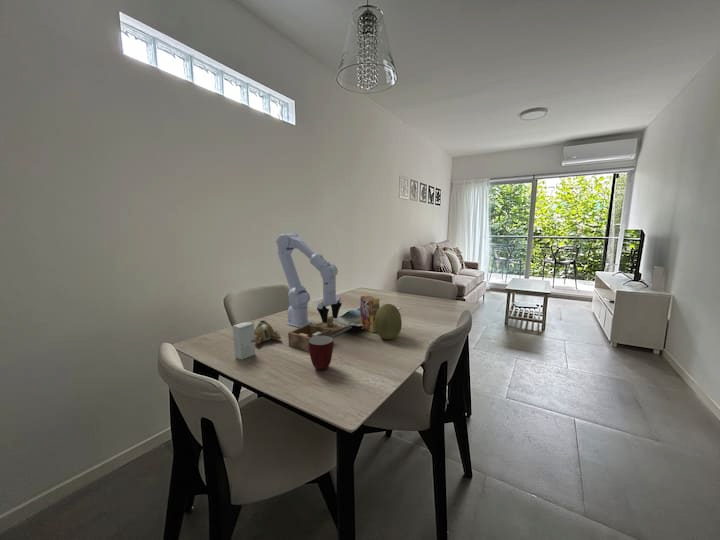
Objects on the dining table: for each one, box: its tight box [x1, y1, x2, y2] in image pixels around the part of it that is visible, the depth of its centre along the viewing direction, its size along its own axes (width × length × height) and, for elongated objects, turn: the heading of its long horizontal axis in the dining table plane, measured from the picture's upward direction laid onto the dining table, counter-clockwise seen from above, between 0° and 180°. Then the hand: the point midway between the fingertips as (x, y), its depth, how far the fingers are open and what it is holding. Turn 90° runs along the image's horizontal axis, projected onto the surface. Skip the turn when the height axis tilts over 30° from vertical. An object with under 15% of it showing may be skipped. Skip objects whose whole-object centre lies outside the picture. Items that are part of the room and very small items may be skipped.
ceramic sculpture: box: [253, 318, 282, 345], centre depth 122 cm, size 11×9×15 cm
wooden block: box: [315, 316, 348, 335], centre depth 135 cm, size 13×13×5 cm
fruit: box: [375, 303, 403, 340], centre depth 122 cm, size 11×11×15 cm
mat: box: [331, 327, 353, 339], centre depth 135 cm, size 16×16×1 cm
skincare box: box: [232, 321, 256, 361], centre depth 106 cm, size 6×4×12 cm
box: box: [287, 323, 332, 353], centre depth 118 cm, size 12×12×6 cm
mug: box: [308, 336, 334, 372], centre depth 96 cm, size 10×8×10 cm
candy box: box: [360, 294, 380, 334], centre depth 133 cm, size 9×4×15 cm, turn 39°
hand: (329, 320), depth 134 cm, fingers open, 7 cm apart
